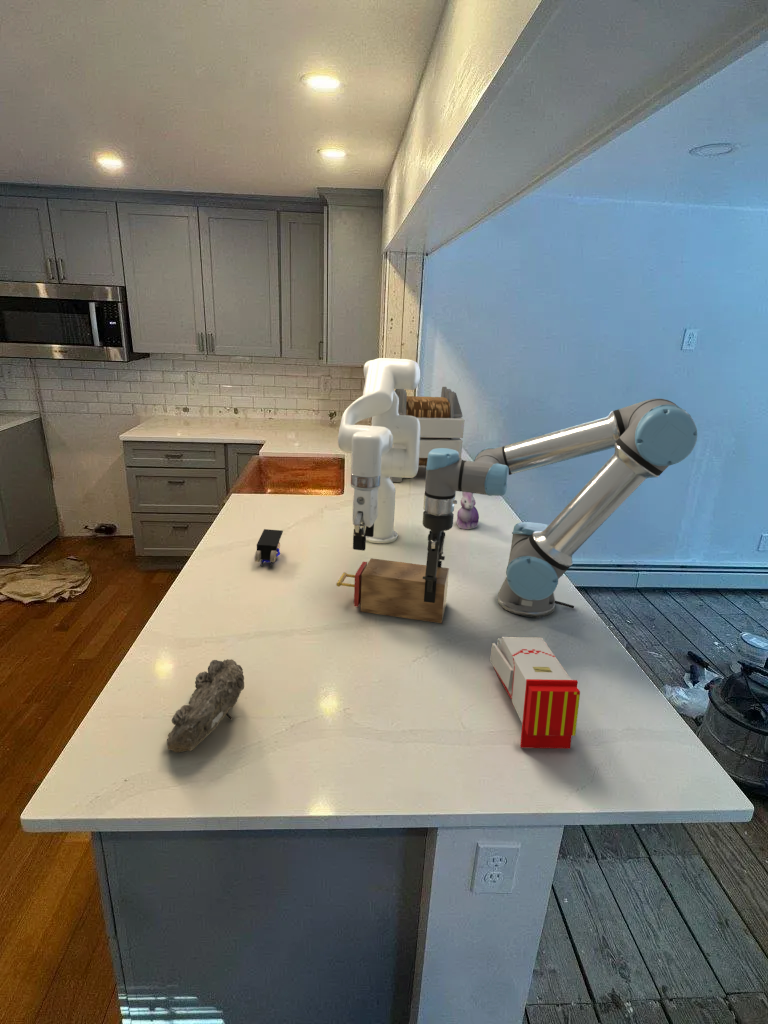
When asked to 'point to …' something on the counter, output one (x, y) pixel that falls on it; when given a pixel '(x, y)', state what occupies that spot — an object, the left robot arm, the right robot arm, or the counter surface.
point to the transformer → (433, 422)
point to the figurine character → (268, 546)
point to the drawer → (357, 583)
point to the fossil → (206, 705)
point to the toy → (537, 691)
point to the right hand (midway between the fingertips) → (432, 592)
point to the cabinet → (402, 590)
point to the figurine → (467, 512)
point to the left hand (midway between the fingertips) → (363, 542)
